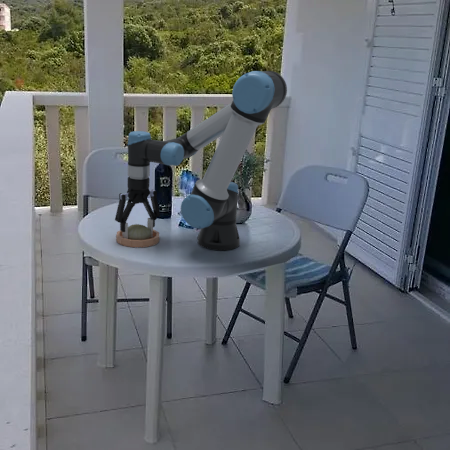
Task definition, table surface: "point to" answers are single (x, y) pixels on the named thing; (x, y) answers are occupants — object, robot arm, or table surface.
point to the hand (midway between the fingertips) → (137, 238)
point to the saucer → (138, 243)
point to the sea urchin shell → (138, 232)
